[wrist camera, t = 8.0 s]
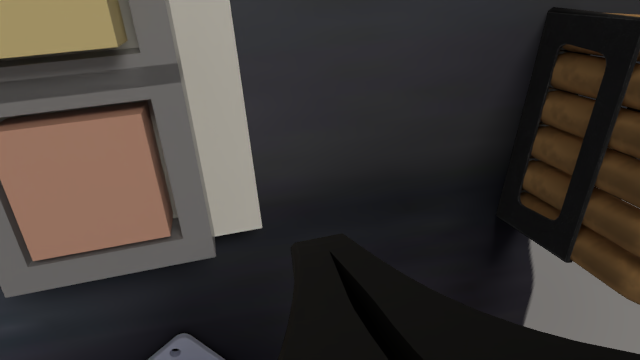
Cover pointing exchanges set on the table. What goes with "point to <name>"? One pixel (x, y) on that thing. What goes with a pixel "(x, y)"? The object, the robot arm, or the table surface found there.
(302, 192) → the table surface
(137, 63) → the button pad
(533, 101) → the ammunition clip
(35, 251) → the terracotta key
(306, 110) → the table surface
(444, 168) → the table surface
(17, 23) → the ochre key
